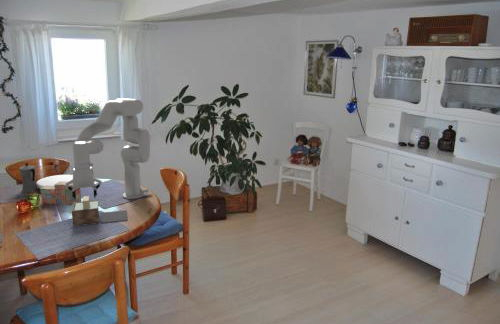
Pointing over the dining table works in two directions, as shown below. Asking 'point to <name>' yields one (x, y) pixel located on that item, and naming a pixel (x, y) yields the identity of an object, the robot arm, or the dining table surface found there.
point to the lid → (86, 204)
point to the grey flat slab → (114, 216)
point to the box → (85, 215)
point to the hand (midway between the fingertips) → (85, 197)
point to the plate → (53, 180)
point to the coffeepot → (28, 178)
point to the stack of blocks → (59, 194)
